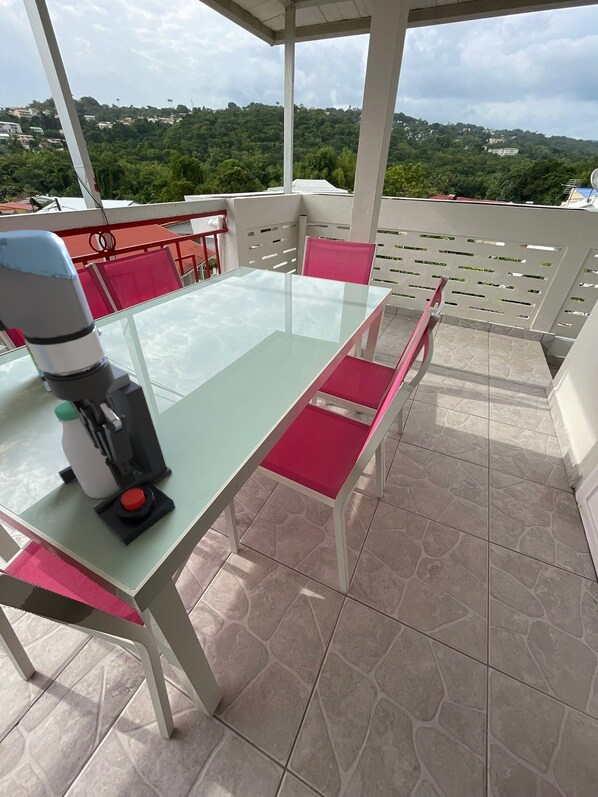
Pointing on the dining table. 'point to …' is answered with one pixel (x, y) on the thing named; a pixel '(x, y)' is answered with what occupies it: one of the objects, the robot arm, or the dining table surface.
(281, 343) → the dining table surface
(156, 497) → the switch block
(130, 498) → the stop button
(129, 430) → the drink machine
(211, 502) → the dining table surface
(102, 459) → the milk bottle
